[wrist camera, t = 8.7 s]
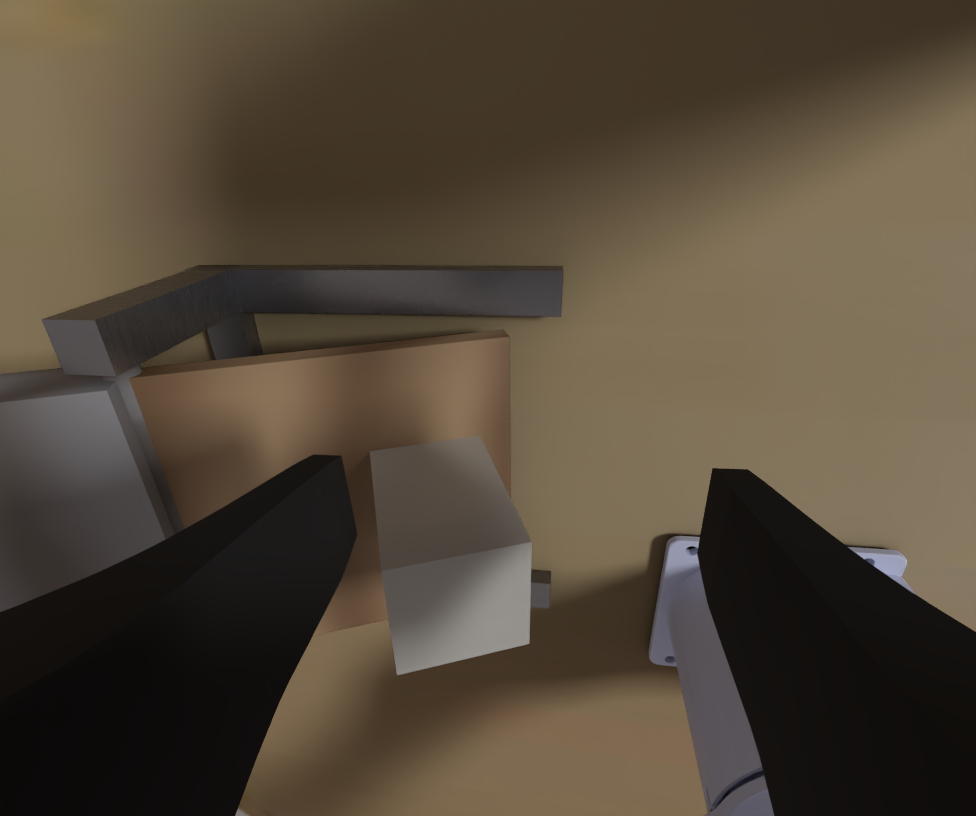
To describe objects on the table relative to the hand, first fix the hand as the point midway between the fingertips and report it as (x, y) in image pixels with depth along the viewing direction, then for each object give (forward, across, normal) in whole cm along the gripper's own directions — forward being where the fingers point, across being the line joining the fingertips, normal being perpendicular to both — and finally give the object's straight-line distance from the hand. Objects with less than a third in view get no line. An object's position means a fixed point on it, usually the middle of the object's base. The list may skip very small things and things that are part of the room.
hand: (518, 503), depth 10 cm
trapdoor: (+7, +10, +5) cm, 13 cm away
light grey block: (+7, +4, +5) cm, 10 cm away
